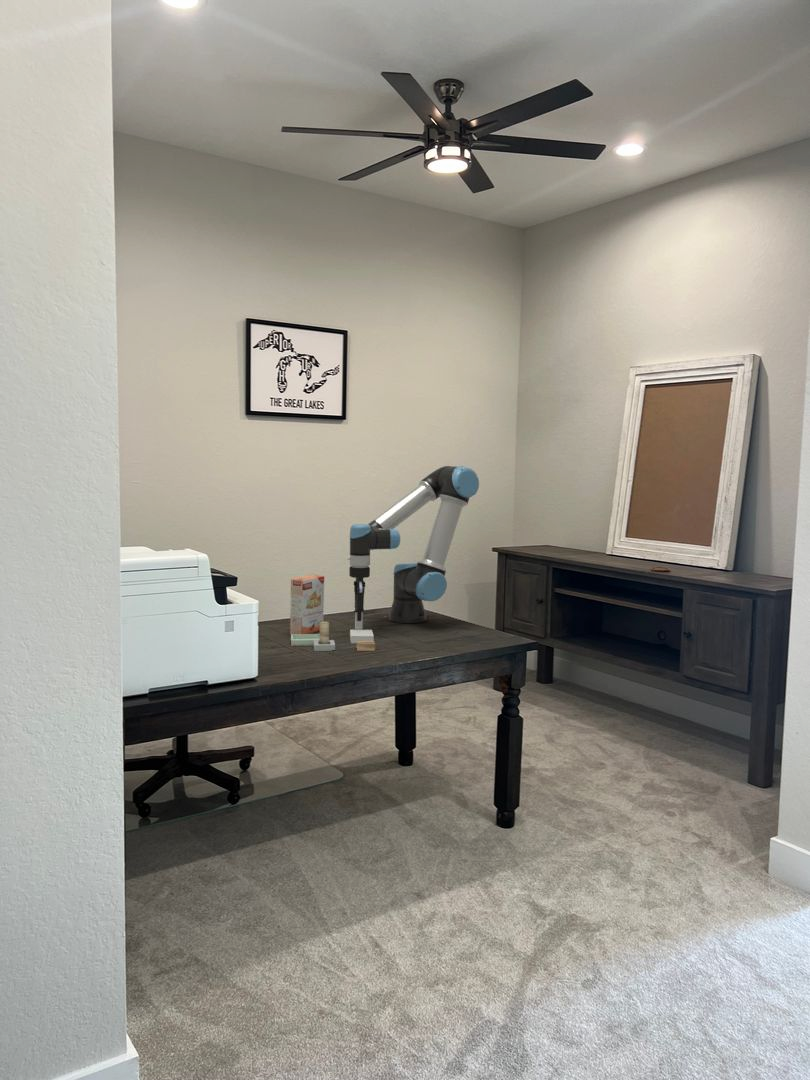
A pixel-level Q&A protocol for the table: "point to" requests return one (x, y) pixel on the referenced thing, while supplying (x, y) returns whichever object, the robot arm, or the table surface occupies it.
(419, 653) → the table surface
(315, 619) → the cracker box
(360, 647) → the wooden block
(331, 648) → the holder
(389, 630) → the table surface
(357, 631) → the white rectangular block
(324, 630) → the pestle
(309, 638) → the tray
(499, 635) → the table surface
